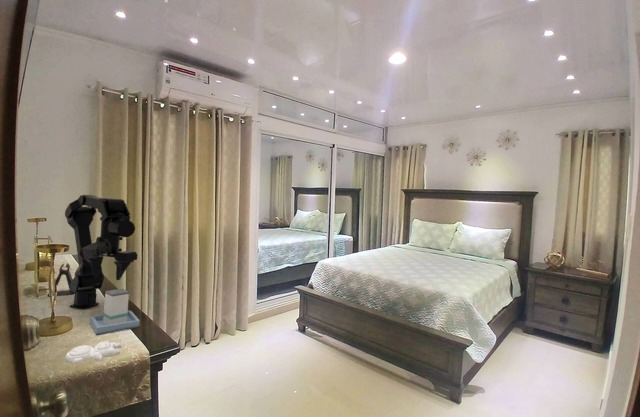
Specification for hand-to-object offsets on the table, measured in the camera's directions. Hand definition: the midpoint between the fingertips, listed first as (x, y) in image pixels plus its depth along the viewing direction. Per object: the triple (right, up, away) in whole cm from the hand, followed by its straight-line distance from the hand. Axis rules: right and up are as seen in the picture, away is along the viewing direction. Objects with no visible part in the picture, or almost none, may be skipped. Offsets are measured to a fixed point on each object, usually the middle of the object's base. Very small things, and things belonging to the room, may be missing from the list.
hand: (106, 278), depth 110 cm
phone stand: (-32, -11, +20) cm, 39 cm away
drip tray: (+7, -14, -7) cm, 17 cm away
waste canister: (+8, -13, -7) cm, 17 cm away
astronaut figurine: (+15, -15, -26) cm, 34 cm away
